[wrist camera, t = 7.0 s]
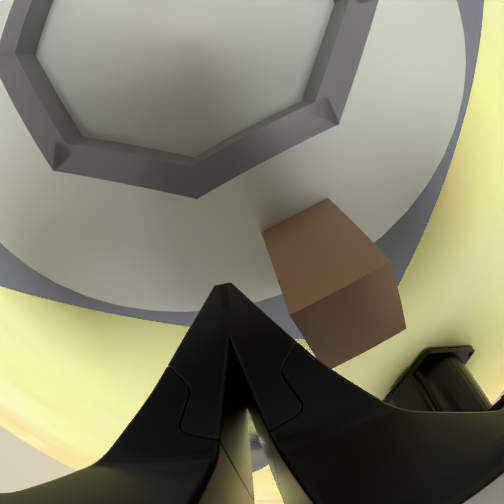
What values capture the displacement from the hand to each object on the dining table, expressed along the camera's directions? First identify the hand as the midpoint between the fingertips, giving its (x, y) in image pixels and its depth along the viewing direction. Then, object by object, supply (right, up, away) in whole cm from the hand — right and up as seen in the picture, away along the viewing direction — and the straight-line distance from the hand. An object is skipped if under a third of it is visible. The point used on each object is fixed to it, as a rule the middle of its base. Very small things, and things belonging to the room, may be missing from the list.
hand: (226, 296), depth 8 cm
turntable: (-2, +9, -1) cm, 10 cm away
